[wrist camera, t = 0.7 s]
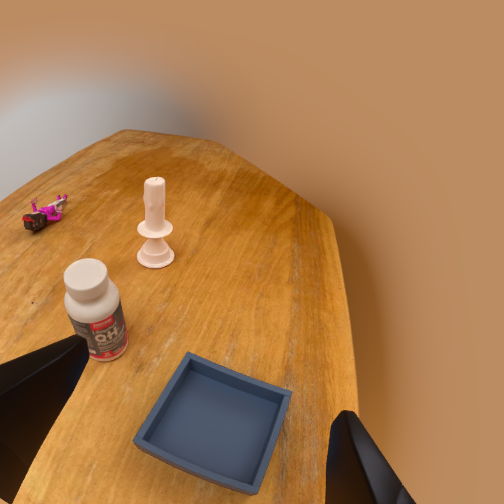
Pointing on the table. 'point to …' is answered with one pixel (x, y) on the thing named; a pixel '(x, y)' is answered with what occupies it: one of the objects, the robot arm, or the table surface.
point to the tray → (215, 424)
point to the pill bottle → (95, 309)
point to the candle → (155, 226)
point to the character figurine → (43, 214)
